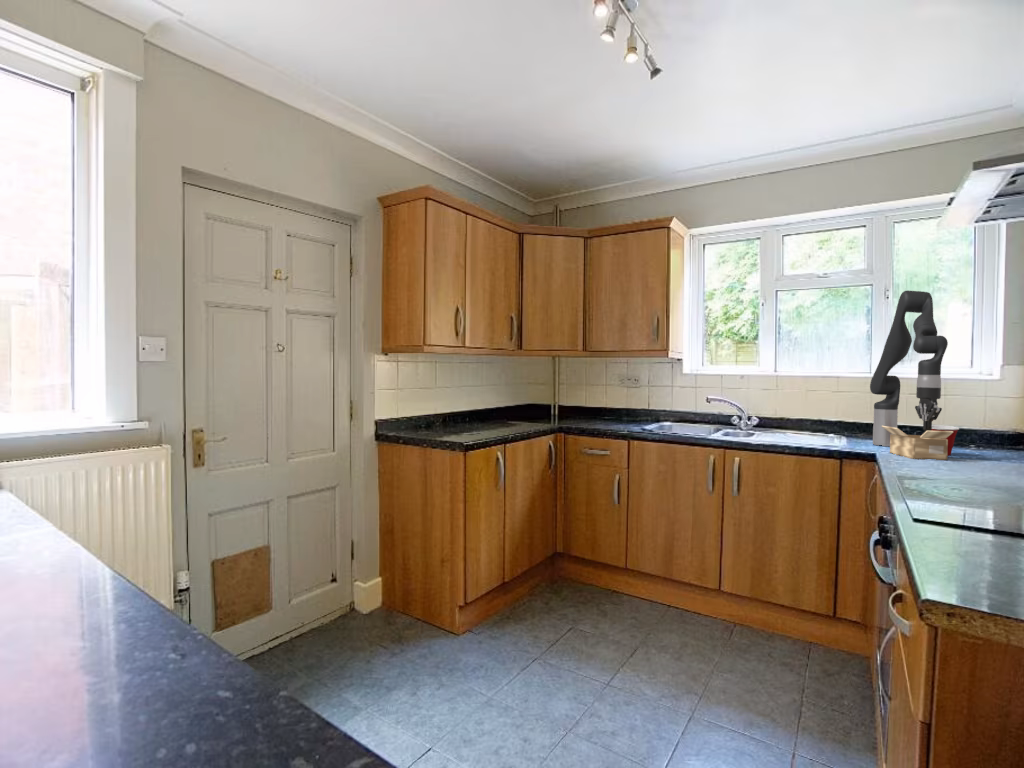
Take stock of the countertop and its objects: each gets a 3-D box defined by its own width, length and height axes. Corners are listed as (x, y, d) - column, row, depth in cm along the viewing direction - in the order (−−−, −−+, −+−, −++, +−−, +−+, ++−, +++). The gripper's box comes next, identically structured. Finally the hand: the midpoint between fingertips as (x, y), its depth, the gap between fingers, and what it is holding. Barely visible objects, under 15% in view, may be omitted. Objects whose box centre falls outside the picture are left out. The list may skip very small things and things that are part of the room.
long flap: (892, 433, 219) (891, 433, 220) (882, 425, 220) (881, 426, 220) (908, 435, 209) (907, 436, 209) (897, 428, 209) (896, 428, 209)
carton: (889, 453, 222) (890, 434, 221) (921, 454, 220) (921, 435, 220) (913, 459, 206) (913, 438, 206) (947, 460, 204) (948, 439, 204)
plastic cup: (928, 455, 218) (929, 426, 218) (922, 452, 228) (923, 424, 228) (962, 457, 213) (963, 427, 213) (954, 454, 223) (955, 425, 223)
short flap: (919, 436, 205) (920, 437, 205) (926, 430, 201) (927, 431, 201) (945, 437, 204) (945, 438, 204) (953, 431, 200) (953, 432, 199)
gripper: (950, 387, 200) (949, 432, 201) (928, 386, 213) (927, 429, 214) (929, 386, 201) (927, 432, 202) (908, 386, 214) (906, 428, 215)
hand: (927, 430), depth 208 cm, fingers closed
